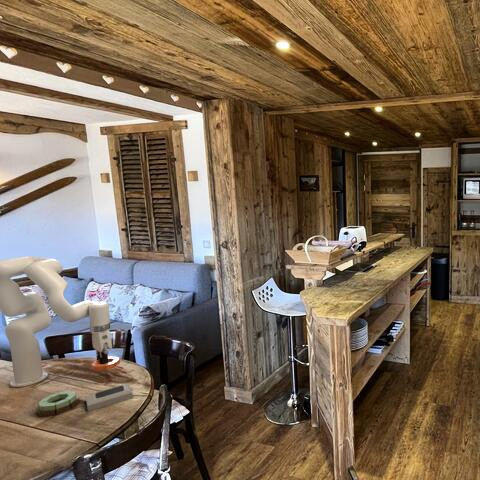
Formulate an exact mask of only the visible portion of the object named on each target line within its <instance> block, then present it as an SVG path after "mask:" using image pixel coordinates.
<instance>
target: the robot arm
mask: <svg viewBox="0 0 480 480" xmlns="http://www.w3.org/2000/svg"><path fill="white" fill-rule="evenodd" d="M63 269H64V267H63V264H62V263H61V262H60V261H59V260H57V259H55V258H50V257H49V258H48V257H40V256H31V255H24V256H18V257H13V258H7V259H2V260H0V312H1V314H2V315H3V316H5V317H8V318H13V317H17V316H20V315H23V316H21V317H18V318H16V319H13V320H11V321H10V322H9V323H7V325H6V326H5V328H4V333H5V336H6V339H7V341H8V343H9V349H10V355H11V363H12V371H13V380H11V381H10V382H9V385H10V387H13V388H21V387H27V386H31V385H34V384H37V383H40V382H42V381H44V380H46V379H47V378H48V376H49V375H48V372H46V371H44V370H43V361H42V354H41V345H40V341H39V339H38V338H37V337H36V336H35V334H37V333H39V332H41V331H44V330H45V329H47V328H49V327H50V326H51V324H52V316H51V313H50V311H49V308H48V306H47V304H46V302H45V299H44V298H43V296H42V295H40V293H38V292H35V291H25V292H22V290H21V288H20V286H19V284H18V283H17V282H16V281H14V279H12V278H14V277H18V276H23V275H25V276H26V277H27V278H28V279H29V280H31V281H32V283H34V284H35V285H36V286H37V287H38V288H40V289H41V290H42V291H43V292H44V293H45V294H46V295H47V301H48V305H49V307H50V309H51V310H52V312H53V313H54V314H55V315H57V317H59V318H60V319H61V320H63V321H64V322H67V323H75V322H77V321H80V320H82V319H85V318H89V333H91V342H92V343H91V345H92V348H93V349H94V350H95V355H96V361H97V360H99V361H100V364H107V363H108V357H109V350H110V351H111V350H112V349H113V341H112V336H111V332H110V330H111V316H110V304H109V303H108V302H107V301H92V300H83V301H79V302H77V303H75V304H71V303H70V302H68V301H67V300H66V298H65V296H64V291H65V290H66V289H67V288H68V286H69V283H68V281H67V280H65V279H64V278H63V277H62V276H61V275H60V274H61V273H62V271H63ZM24 314H25V315H24Z"/></svg>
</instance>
